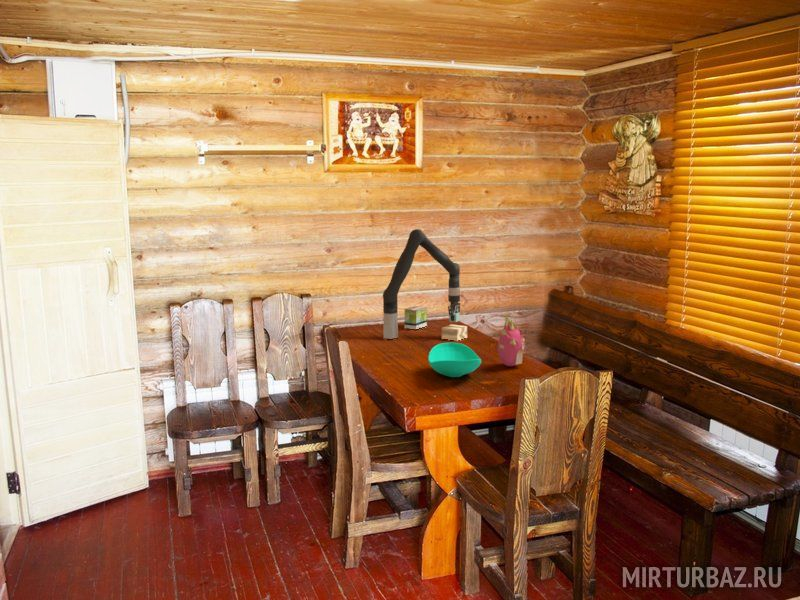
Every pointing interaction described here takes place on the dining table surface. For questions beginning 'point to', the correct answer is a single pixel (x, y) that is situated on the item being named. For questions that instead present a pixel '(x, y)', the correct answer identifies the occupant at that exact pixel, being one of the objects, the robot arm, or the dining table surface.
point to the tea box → (415, 317)
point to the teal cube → (455, 317)
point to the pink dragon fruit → (511, 344)
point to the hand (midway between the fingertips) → (454, 319)
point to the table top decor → (453, 359)
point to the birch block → (454, 332)
